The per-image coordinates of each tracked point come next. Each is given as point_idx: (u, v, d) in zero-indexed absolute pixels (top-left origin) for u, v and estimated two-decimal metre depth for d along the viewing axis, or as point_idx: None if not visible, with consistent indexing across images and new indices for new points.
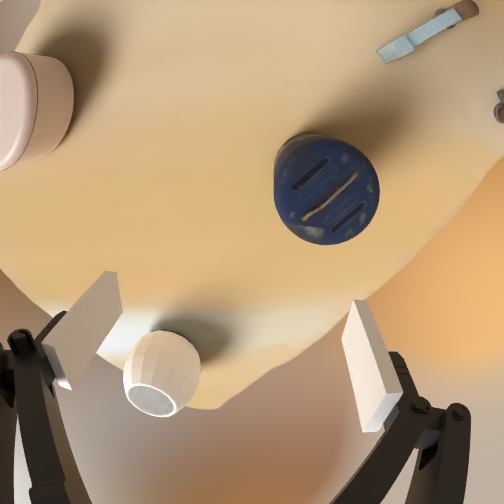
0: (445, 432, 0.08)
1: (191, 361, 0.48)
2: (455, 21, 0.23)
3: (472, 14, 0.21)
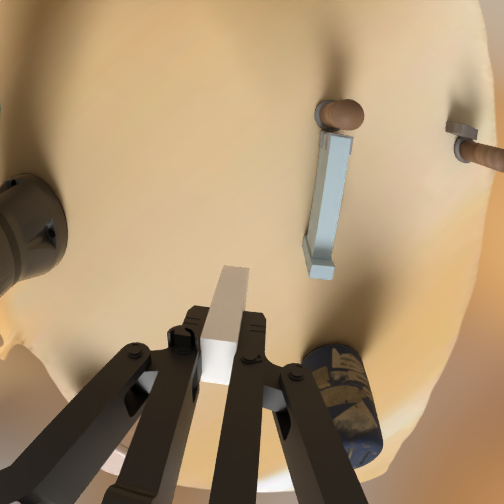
0: (289, 398, 0.10)
1: None
2: (347, 154, 0.25)
3: (358, 126, 0.22)
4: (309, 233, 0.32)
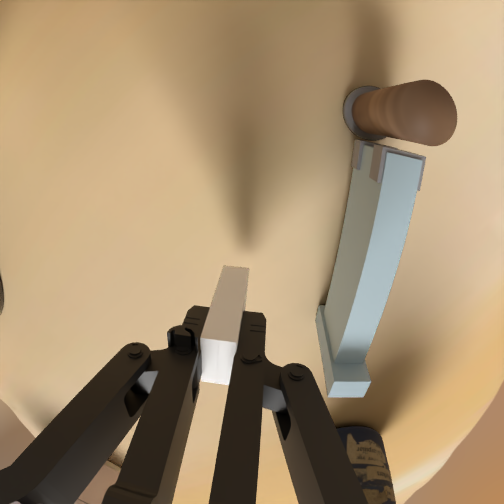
0: (289, 398, 0.10)
1: None
2: (414, 190, 0.12)
3: (445, 138, 0.10)
4: (329, 311, 0.19)
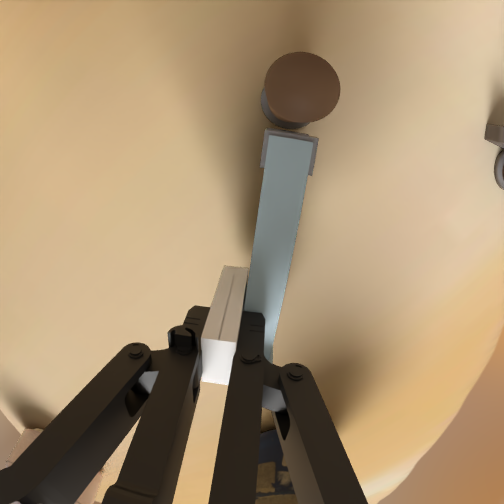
0: (288, 398, 0.10)
1: None
2: (304, 175, 0.12)
3: (325, 113, 0.10)
4: None
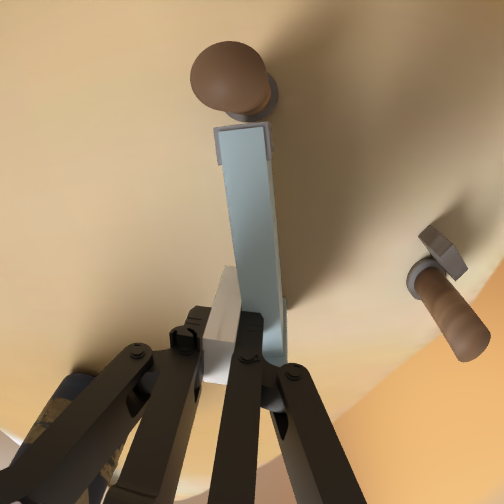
0: (286, 398, 0.10)
1: None
2: (263, 161, 0.12)
3: (233, 108, 0.10)
4: None
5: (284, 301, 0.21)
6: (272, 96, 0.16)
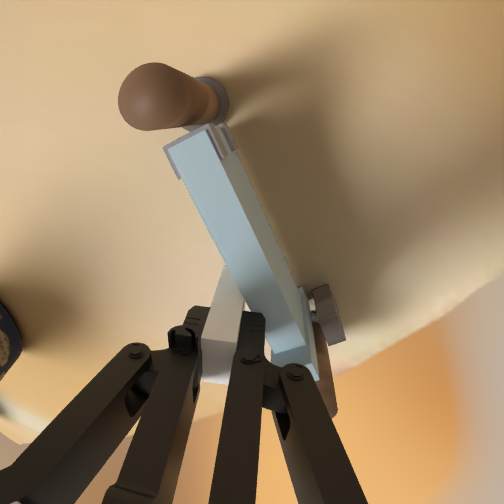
0: (288, 398, 0.10)
1: None
2: (217, 161, 0.12)
3: (143, 128, 0.10)
4: None
5: (301, 290, 0.21)
6: (218, 114, 0.16)
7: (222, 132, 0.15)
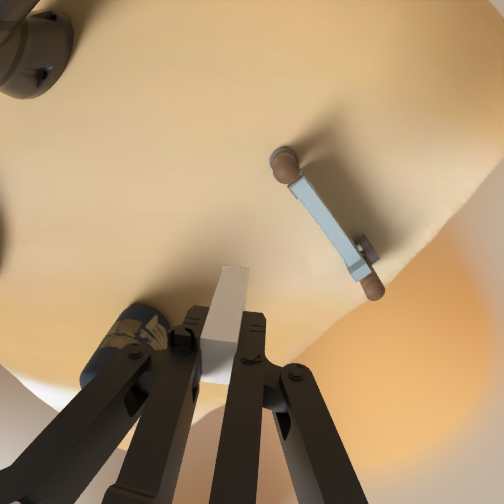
0: (289, 398, 0.10)
1: None
2: (311, 189, 0.32)
3: (285, 183, 0.30)
4: None
5: (351, 240, 0.39)
6: None
7: (302, 174, 0.34)
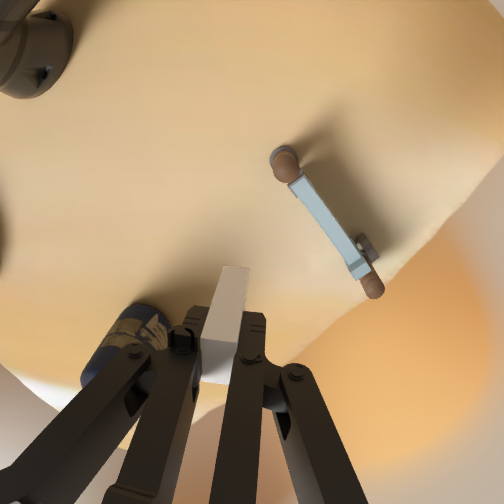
0: (289, 398, 0.10)
1: None
2: (311, 188, 0.32)
3: (285, 182, 0.30)
4: None
5: (351, 239, 0.39)
6: None
7: (302, 173, 0.34)
